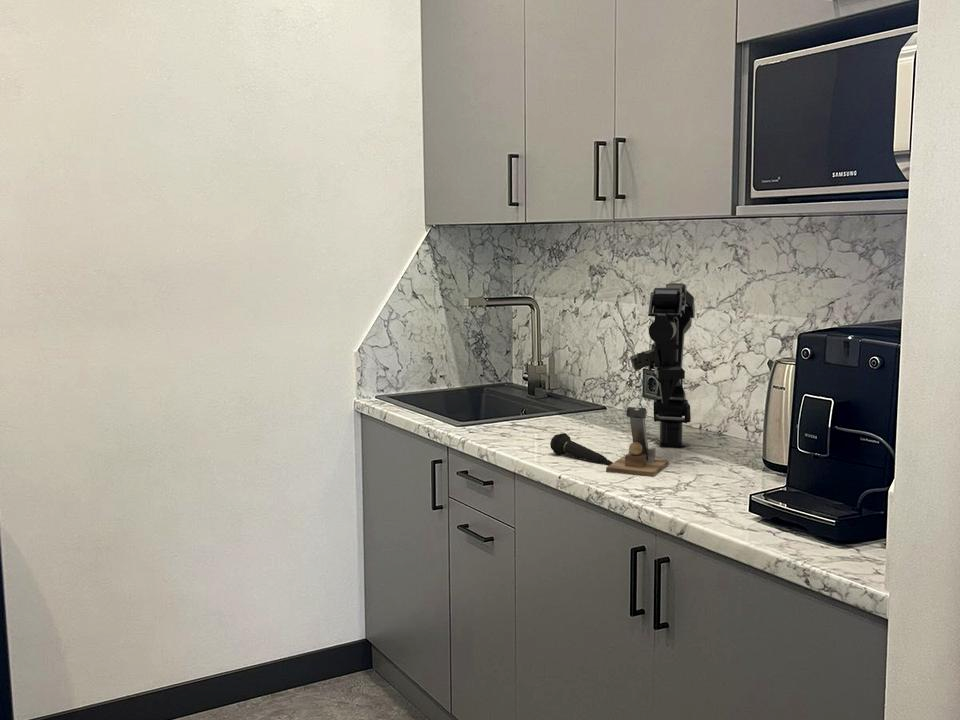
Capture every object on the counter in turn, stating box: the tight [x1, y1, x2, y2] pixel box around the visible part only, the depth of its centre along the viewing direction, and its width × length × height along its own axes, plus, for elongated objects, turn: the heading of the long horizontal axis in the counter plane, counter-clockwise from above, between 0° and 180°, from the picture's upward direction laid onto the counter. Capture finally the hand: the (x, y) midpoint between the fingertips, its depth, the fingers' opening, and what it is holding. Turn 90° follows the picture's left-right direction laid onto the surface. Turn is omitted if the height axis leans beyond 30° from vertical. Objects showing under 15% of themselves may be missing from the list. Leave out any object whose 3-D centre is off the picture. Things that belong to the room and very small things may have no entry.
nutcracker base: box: [605, 441, 670, 478], centre depth 224 cm, size 13×11×6 cm
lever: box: [626, 406, 650, 460], centre depth 224 cm, size 2×4×14 cm, turn 64°
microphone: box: [549, 432, 614, 466], centre depth 234 cm, size 6×6×20 cm
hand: (664, 403), depth 236 cm, fingers closed
